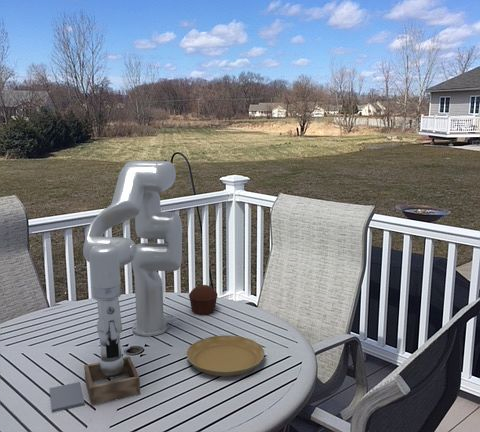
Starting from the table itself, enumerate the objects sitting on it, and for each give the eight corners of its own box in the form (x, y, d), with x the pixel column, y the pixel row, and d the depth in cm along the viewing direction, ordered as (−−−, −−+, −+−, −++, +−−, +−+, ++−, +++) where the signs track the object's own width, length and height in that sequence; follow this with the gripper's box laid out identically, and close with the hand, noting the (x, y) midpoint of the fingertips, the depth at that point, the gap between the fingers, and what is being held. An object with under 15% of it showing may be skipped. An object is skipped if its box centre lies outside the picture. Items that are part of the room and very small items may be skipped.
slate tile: (80, 384, 137) (79, 381, 136) (84, 404, 127) (84, 402, 127) (49, 390, 133) (49, 388, 133) (52, 412, 123) (51, 409, 123)
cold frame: (130, 371, 143) (129, 356, 142) (140, 394, 132) (139, 377, 131) (85, 381, 138) (84, 365, 137) (91, 405, 126) (89, 388, 125)
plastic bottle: (128, 368, 137) (124, 302, 132) (115, 380, 131) (110, 312, 126) (109, 364, 139) (104, 299, 134) (95, 376, 133) (90, 309, 128)
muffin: (189, 305, 194) (188, 282, 192) (216, 304, 195) (216, 281, 193) (189, 317, 182) (188, 292, 180) (218, 316, 183) (218, 291, 181)
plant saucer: (227, 336, 167) (227, 328, 166) (280, 361, 150) (280, 351, 149) (171, 361, 150) (170, 351, 150) (223, 391, 133) (223, 380, 133)
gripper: (127, 299, 123) (130, 363, 127) (115, 278, 138) (119, 336, 142) (96, 304, 120) (101, 369, 124) (88, 282, 135) (92, 341, 139)
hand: (110, 351), depth 133 cm, fingers closed on plastic bottle, 5 cm apart
